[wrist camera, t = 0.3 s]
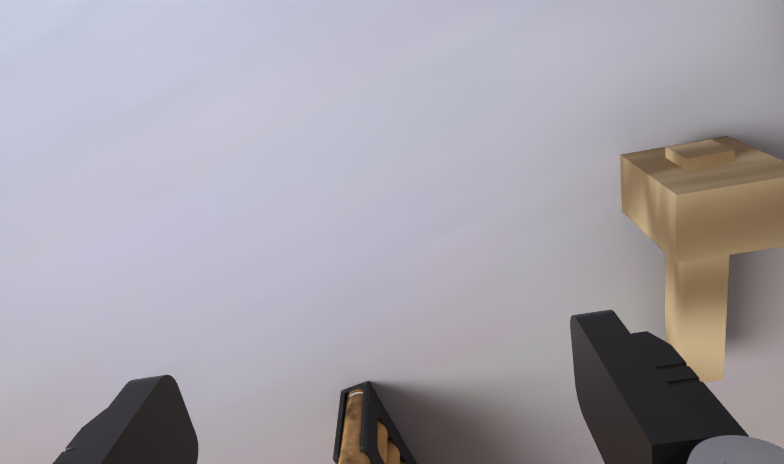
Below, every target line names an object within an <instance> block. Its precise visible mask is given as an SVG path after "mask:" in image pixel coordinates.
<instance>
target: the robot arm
mask: <svg viewBox="0 0 784 464" xmlns="http://www.w3.org/2000/svg"><path fill="white" fill-rule="evenodd" d="M570 327H571V340H572V351H573V363H574V375H575V385H576V392H577V397H578V401H579V405H580V408H581V411H582V414H583V417H584V419H585V421H586V424H587V426H588V428H589V430H590V432H591V434H592V436H593V439H594V441H595V443H596V445H597V447H598V449H599V452H600V454H601V456H602V458H603V460H604V462H605V464H784V449H783V448H781V447H779V446H777V445H775V444H772V443H770V442H767V441H764V440H761V439H757V438H752V437H749V436H748V434H747V433H746V432H745V431H744V430H743V429H742V427H741V426H740V425H739V424H738V423H737V422H736V420H735V419H734V418H733V417H732V416H731V414H730V413H729V412H728V411H727V410H726V409H725V407H724V406H723V405H722V404H721V403H720V402H719V400H718V399H717V398H716V397H715V396H714V394H713V393H712V392H711V391H710V390H709V389H708V387H707V386H706V385H705V384H704V383H703V382H700V380H699V377H698V376H697V374H696V373H695V372H694V371H693V370H692V369H691V367H690V366H687V364H686V361H685V360H684V359H683V358H682V357H681V356H680V354H679V353H678V352H677V351H676V350H675V349H674V347H673V346H672V345H671V344H669V343H667V342H665V341H664V340H662V339H660V338H658V337H656V336H654V335H653V334H651V333H649V332H647V331H646V332H639V333H632V334H630V332H629V331H628V330H627V328H626V327H625V326H624V324H623V323H622V322H621V320H620V319H619V318H618V316H617V315H616V314H615V312H614V311H613V310H605V311H599V312H592V313H585V314H579V315H572V316H571V321H570ZM197 459H198V440H197V436H196V433H195V430H194V428H193V425H192V422H191V419H190V417H189V414H188V411H187V409H186V406H185V403H184V401H183V398H182V395H181V393H180V390H179V387H178V385H177V382H176V381H175V379H174V378H173V377H172V376H170V375H162V376H156V377H149V378H142V379H135V380H131V381H129V382H128V383H127V384H126V385H125V387H124V388H123V389H122V390H121V392H120V393H119V394H118V395H117V397H116V398H115V399H114V401H113V402H112V403H111V404H110V406H109V407H108V408H107V409H105V410H104V411H103V412H101V413H100V414H99V415H98V416H96V417H95V418H94V419H92V420H91V421H90V422H89V423H87V424H86V425H85V426H84V427H82V428H81V430H80V431H79V432H78V433H77V435H76V436H75V437H74V438H73V440H72V441H71V442H70V443H69V444H68V446H67V447H66V451H65V452H62V453H61V454H60V455H59V457H58V458H57V459H56V460H55V462H54V463H53V464H197Z"/></svg>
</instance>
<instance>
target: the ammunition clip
mask: <svg viewBox="0 0 784 464" xmlns="http://www.w3.org/2000/svg"><path fill="white" fill-rule="evenodd" d="M333 460H334V462H335V463H336V464H417V463H416V462H415V460H414V458H413V456H412V455H411V453H410V451H409V449H408V448H407V446H406V444H405V443H404V441H403V439H402V437H401V436H400V434H399V432H398V430H397V429H396V427H395V425H394V424H393V422H392V420H391V418H390V417H389V415H388V413H387V411H386V410H385V408H384V406H383V405H382V403H381V401H380V399H379V398H378V396H377V394H376V392H375V391H374V389H373V387H372V386H371V384H370V382H364V383H362V384H359V385H356V386H353V387H351V388H348V389H345V390H342V391H341V396H340V404H339V412H338V421H337V429H336V437H335V446H334V454H333Z"/></svg>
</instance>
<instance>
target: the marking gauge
mask: <svg viewBox="0 0 784 464" xmlns="http://www.w3.org/2000/svg"><path fill="white" fill-rule="evenodd" d="M620 156H621V189H622V212H623V213H624V214H625V215H626V216H628V217H629V218H630V219H631V220H632V221H633V222H634V223H635V224H636V225H637V226H638V227H639V228H640V229H641V230H642V231H643V232H644V233H645V234H646V235H647V236H648V237H649V238H650V239H651V240H652V241H653V242H654V243H656V244H657V245H658V246H659V247H660V248H661V249H662V250H663V251H664V252H665V342H667V343H669V344H671V345H672V346H673V347H674V349H675V350H676V351H677V352H678V353H679V354H680V356H681V357H682V358H683V359H684V360H685V361H686V364H687V366H690V367H691V369H692V370H693V371H694V372H695V373H696V374H697V376H698V377H699V380H700V382H710V381H717V380H723V375H724V356H725V336H726V317H727V297H728V277H729V258H730V255H732V254H739V253H745V252H752V251H758V250H765V249H771V248H777V247H784V161H783V160H781V159H779V158H776V157H774V156H771V155H769V154H767V153H764V152H762V151H760V150H757V149H755V148H753V147H750V146H748V145H746V144H743V143H741V142H738V141H736V140H734V139H731V138H729V137H727V136H726V137H720V138H714V139H708V140H703V141H697V142H691V143H686V144H680V145H674V146H668V147H663V148H657V149H651V150H645V151H640V152H634V153H628V154H622V155H620Z"/></svg>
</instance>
